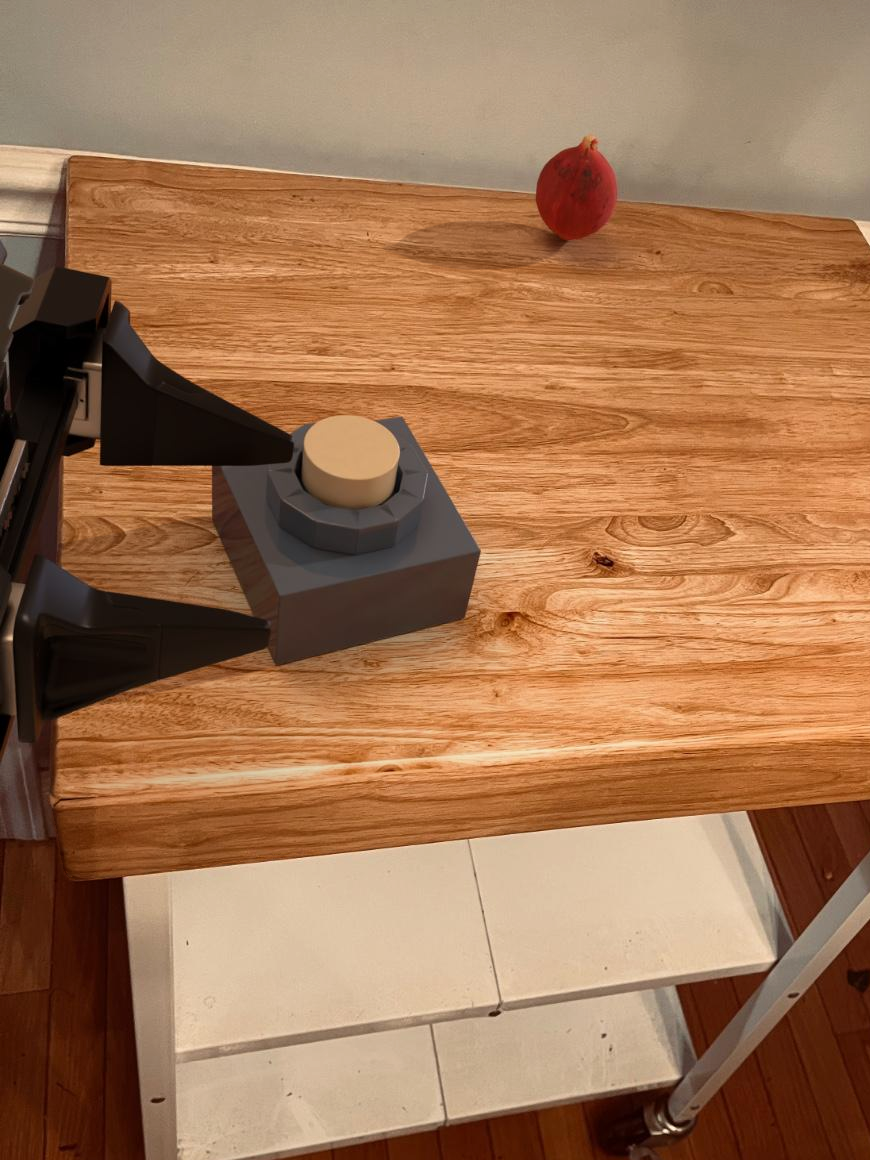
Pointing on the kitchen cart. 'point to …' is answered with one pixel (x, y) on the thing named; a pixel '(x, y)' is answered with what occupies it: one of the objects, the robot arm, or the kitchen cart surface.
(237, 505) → the grey button base
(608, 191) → the pomegranate
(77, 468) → the kitchen cart surface
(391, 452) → the tan push button
